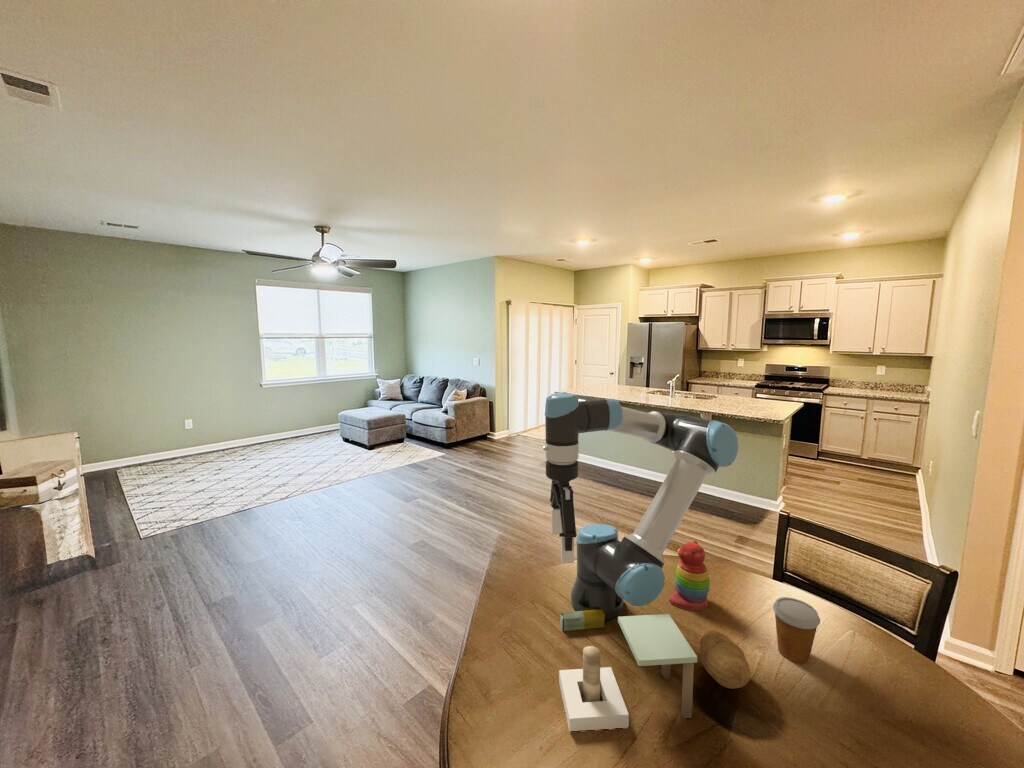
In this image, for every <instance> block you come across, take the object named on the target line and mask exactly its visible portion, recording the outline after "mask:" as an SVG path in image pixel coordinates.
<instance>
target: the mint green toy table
mask: <svg viewBox="0 0 1024 768" xmlns="http://www.w3.org/2000/svg"><path fill="white" fill-rule="evenodd" d="M617 623H618V624H619V626H620V630H621V631H622V633H623V636H624V638H625V639H626V642H627V644H628V647H629V648H630V651H631V652H632V655H633V657H634V659H635V661H636V663H637V666H638V667H644V666H645V667H646V666H660V665H661V669H660V671H661V672H660V675H661V677H662V678H663V679H665V680H667V679H668V680H669V679H670V678H671V670H672V669H671V667H672V665H677V664H678V665H679V664H682V686H681V691H682V692H681V713H682V714H681V713H680V714H681V716H682V715H683V716H684V717H686V718H690V717H692V718H693V695H694V693H693V692H694V670H695V669H694V667H695V666H694V665H695V663H696V664H697V663H698V655H697V654H696V653H695V651H694V650H693V648H692V647H691V646H690V645H691V644H689V642H688V641H687V639H686V637H685V636H684V634H683V633H682V631H681V630H680V628H679V627H678V625H677V624H676V623H675V621H674V619H673V618H672V616H671V615H670V614H669V613H662V614H661V613H660V614H659V613H657V614H643V615H642V614H641V615H626V616H625V615H624V616H617ZM683 716H682V717H683ZM684 717H683V718H684ZM686 718H685V719H686Z"/></svg>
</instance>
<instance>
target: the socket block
mask: <svg viewBox="0 0 1024 768" xmlns="http://www.w3.org/2000/svg"><path fill="white" fill-rule="evenodd" d="M558 683H559V688H560V693H561V697H562V698H561V699H562V702H563V707H564V712H566V713H565V716H566V717H567V718H566V717H565V718H566V721H567V726H568V727H567V728H568V731H570V732H569V733H572V732H571V731H578V730H579V731H580V730H586V729H587V730H588V729H609V730H616V729H615V728H623V729H629V728H628V727H630V726H629V722H630V719H629V718H630V714H629V711H628V709H627V705H626V703H625V700H624V698H623V696H622V692H621V691H620V688H619V685H618V683H617V680H616V677H615V675H614V672H613V669H612V667H611V666H606V667H604V666H603V667H600V698H601V699H602V700H600V701H597V702H583V698H582V695H583V668H575V669H574V668H573V669H560V670H558ZM613 728H614V729H613Z"/></svg>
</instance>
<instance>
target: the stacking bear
mask: <svg viewBox="0 0 1024 768" xmlns="http://www.w3.org/2000/svg"><path fill="white" fill-rule="evenodd" d="M676 551H677V555H678V557H679V558H680V559H679V561H678V564H677V567H676V570H675V576H674V578H675V580H674V581H675V587H674V591H675V592H674V593H672V594H671V595H670V596H669V600H668V601H669V603H670V605H673V606H675V607H677V608H679V609H684V610H689V611H702V610H703V611H704V610H706V609H707V607H708V606H709V600H708V594H709V592H710V585H711V581H710V576H709V574H710V573H709V571H708V568H707V566H706V565H705V563H704V561H705V558H706V552H705V550H704V548H703V547H702V546H701V545H700V544H699V543H698V542H697V540H695V539H694V540H693V542H692V541H691V542H689V541H688V542H686V543H684V544H683V545H682V546H681V547H679V548H678V549H677V550H676Z"/></svg>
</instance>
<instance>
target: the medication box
mask: <svg viewBox="0 0 1024 768" xmlns="http://www.w3.org/2000/svg"><path fill="white" fill-rule="evenodd" d="M559 616H560V622H559V626H560V630H561V631H562V632H566V631H567V632H568V631H569V632H570V631H577V630H588V629H595V628H596V629H597V628H598V629H599V628H605V614H604V612H603V610H602V609H597V610H585V611H576V610H574V611H563V612H562V611H561V612H560V613H559Z"/></svg>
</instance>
